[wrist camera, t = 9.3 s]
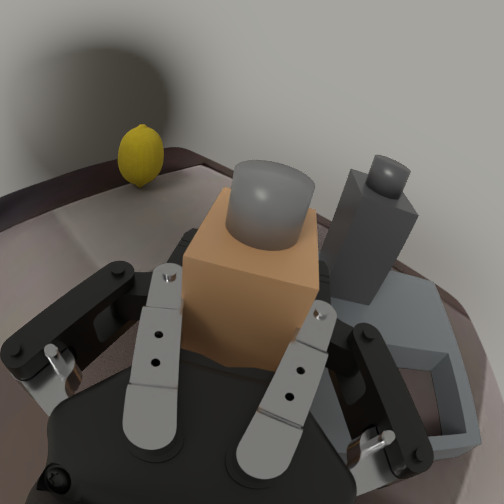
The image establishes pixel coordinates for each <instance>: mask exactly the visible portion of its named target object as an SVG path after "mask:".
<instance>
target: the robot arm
mask: <svg viewBox="0 0 504 504" xmlns="http://www.w3.org/2000/svg"><path fill="white" fill-rule="evenodd" d="M197 231H198V229H194V228H192V229H191V230H189V231H188V232H186V233H185V234H184V236H183V237H182V239H181V241H180V242H179V244H178V246H177V247H176V248H175V250H174V252H173V253H172V255H171V256H170V258H169V260H168V261H167V263H165V264H161V265H159V266H157V267H156V268H155V269H154V271H153V272H134V268H133V266H132V265H131V264H130V263H128V262H125V261H115V262H111V263H109V264H108V265H106V266H105V267H103V268H102V269H100V270H99V271H97V272H96V273H94V274H93V275H92V276H90V277H89V278H87V279H86V280H84V281H83V282H82V283H80V284H79V285H77V286H76V287H75V288H73V289H72V290H70V291H69V292H68V293H66V294H65V295H64V296H62V297H61V298H60V299H58V300H57V301H56V302H54V303H53V304H51V305H50V306H49V307H47V308H46V309H45V310H44V311H42V312H41V313H40V314H38V315H37V316H36V317H34V318H33V319H32V320H31V321H29V322H28V323H27V324H25V325H24V326H23V327H22V328H20V329H19V330H18V331H17V332H15V333H14V334H13V335H12V336H11V337H9V338H8V339H7V340H6V341H5V342H4V343H3V345H2V347H1V351H0V357H1V360H2V362H3V363H4V365H5V366H6V367H7V369H8V370H9V371H10V373H11V375H12V376H13V377H14V379H15V380H16V381H17V382H18V383H19V384H20V386H21V387H22V388H23V389H24V390H25V391H26V392H28V393H29V394H30V396H31V397H32V398H33V399H34V400H36V401H37V403H38V404H39V405H40V406H41V408H42V409H43V410H44V411H45V412H46V413H47V415H48V416H49V420H48V425H47V436H48V457H47V463H46V467H45V469H44V471H43V473H42V474H41V476H40V477H39V479H38V480H37V482H36V483H35V485H34V486H33V487H32V489H31V491H30V493H29V495H28V497H27V500H26V503H25V504H355V501H356V496H358V495H361V494H364V493H366V492H369V491H371V490H374V489H381V488H384V487H387V486H389V485H392V484H395V483H398V482H400V481H403V480H406V479H408V478H411V477H413V476H415V475H418V474H420V473H422V472H425V471H426V470H428V469H429V468H430V467H431V465H432V463H433V460H434V451H433V448H432V445H431V443H430V440H429V438H428V435H427V433H426V431H425V428H424V426H423V423H422V421H421V419H420V416H419V414H418V411H417V409H416V407H415V405H414V402H413V400H412V398H411V396H410V393H409V391H408V389H407V387H406V385H405V382H404V380H403V378H402V376H401V374H400V372H399V370H398V367H397V365H396V363H395V361H394V359H393V357H392V355H391V353H390V351H389V349H388V347H387V345H386V343H385V341H384V339H383V337H382V335H381V333H380V332H379V330H378V329H377V328H376V327H374V326H373V325H371V324H369V323H358V324H357V325H355V327H352V326H350V325H348V324H346V323H344V322H342V321H341V320H339V319H338V318H337V314H336V311H335V309H334V308H333V307H332V306H331V296H330V284H329V283H330V279H329V269H328V267H327V265H326V263H325V262H324V261H321V260H318V263H319V291H318V293H317V296H316V298H315V300H314V302H313V304H312V306H311V308H310V310H309V313H308V315H307V317H306V319H305V321H304V323H303V325H302V327H301V328H298V327H296V329H295V331H294V333H293V335H292V337H291V340H290V342H289V344H288V346H287V348H286V350H285V352H284V354H283V356H282V358H281V360H280V362H279V364H278V366H277V368H276V370H275V372H273V371H268V370H263V369H259V368H249V367H226V366H223V365H221V364H219V363H217V362H215V361H213V360H212V359H210V358H208V357H206V356H204V355H202V354H199V353H196V352H192V351H189V350H186V349H182V347H183V334H182V326H183V311H184V299H183V298H181V290H182V267H183V255H184V253H185V251H186V250H187V248H188V246H189V244H190V243H191V241H192V239H193V238H194V236H195V234H196V233H197ZM138 320H140V322H139V327H138V333H137V338H136V344H135V350H134V356H133V362H132V366H130V367H128V368H126V369H124V370H122V371H120V372H118V373H116V374H114V375H112V376H110V377H109V378H107V379H105V380H103V381H101V382H99V383H97V384H95V385H93V386H91V387H89V388H87V389H85V390H83V391H81V392H79V393H77V394H75V395H74V393H75V391H76V390H77V389H78V387H79V385H80V383H81V381H82V371H83V370H84V369H85V368H86V367H87V366H88V365H89V364H90V363H91V362H93V361H94V360H95V359H96V358H97V357H98V356H99V355H100V354H101V353H102V352H104V351H105V350H106V349H107V348H108V347H109V346H110V345H111V344H112V343H114V342H115V341H116V340H117V339H118V338H119V337H120V336H121V335H123V334H124V333H125V332H126V331H127V330H128V329H129V328H130V327H131V326H133V325H134V324H135V323H136V322H137V321H138ZM324 367H326V368H328V373H329V375H330V378H331V381H332V384H333V387H334V390H335V393H336V395H337V398H338V401H339V404H340V407H341V410H342V413H343V416H344V419H345V422H346V425H347V428H348V431H349V434H350V437H351V440H352V441H351V442H350V443H349V445H348V447H347V465H346V464H345V462H344V461H343V460H342V458H341V457H340V455H339V454H338V452H337V451H336V449H335V448H334V446H333V445H332V443H331V442H330V440H329V439H328V437H327V436H326V434H325V433H324V431H323V430H322V428H321V427H320V425H319V424H318V422H317V421H316V419H315V418H314V416H313V415H312V413H311V412H310V407H311V404H312V401H313V399H314V396H315V393H316V390H317V388H318V385H319V382H320V379H321V376H322V373H323V370H324Z"/></svg>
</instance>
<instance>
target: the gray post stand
mask: <svg viewBox="0 0 504 504" xmlns="http://www.w3.org/2000/svg"><path fill="white" fill-rule="evenodd" d="M409 175H410V170H409V169H408V168H407V167H406V166H404V165H402V164H401V163H399V162H397V161H395V160H392V159H390V158H388V157H385V156H381V155H375V157H374V160H373V163H372V165H371V168H370V171H369V174H366V173H362V172H359V171H356V170H353V169H350V172H349V175H348V178H347V181H346V184H345V187H344V190H343V192H342V195H341V198H340V201H339V203H338V206H337V209H336V212H335V215H334V218H333V220H332V222H331V225H330V228H329V230H328V233H327V236H326V238H325V241H324V243H323V246H322V248H321V251H318V260H321V261H324V262H325V263H326V265H327V267H328V269H329V279H330V283H329V284H330V296H331V306H332V307H333V308H334V309H335V311H336V314H337V318H338V319H339V320H341V321H342V322H344V323H346V324H348V325H350V326H352V327H355V325H357V324H358V323H369V324H371V325H373V326H374V327H376V328H377V329H378V330H379V332H380V333H381V335H382V337H383V339H384V341H385V343H386V345H387V347H388V349H389V351H390V353H391V355H392V357H393V359H394V361H395V363H396V365H397V367H399V368H407V369H416V370H426V371H431V374H432V379H433V384H434V389H435V394H436V399H437V405H438V411H439V417H440V423H441V430H442V436H430V437H428V438H429V440H430V443H431V445H432V448H433V451H434V460H440V459H447V458H453V457H459V456H460V455H462V454H464V453H466V452H468V451H469V450H471V449H473V448H475V447H476V446H478V445H480V444H482V442H481V436H480V430H479V425H478V419H477V415H476V410H475V405H474V401H473V397H472V393H471V389H470V385H469V381H468V377H467V374H466V370H465V367H464V363H463V360H462V357H461V354H460V351H459V347H458V344H457V341H456V338H455V336H454V333H453V330H452V327H451V324H450V322H449V319H448V316H447V314H446V311H445V308H444V306H443V303H442V301H441V298H440V296H439V293H438V291H437V289H436V286H435V284H434V282H432V281H428V280H425V279H421V278H417V277H414V276H410V275H407V274H403V273H399V272H396V271H392V270H391V268H392V266H393V264H394V262H395V261H396V259H397V257H398V255H399V253H400V251H401V250H402V248H403V246H404V244H405V242H406V240H407V238H408V236H409V234H410V232H411V230H412V228H413V226H414V224H415V222H416V220H417V218H418V214H417V213H416V211H415V209H414V208H413V206H412V205H411V203H410V202H409V200H408V199H407V197H406V196H405V195H404V193H403V189H404V187H405V185H406V182H407V180H408V177H409ZM310 412H311V413H312V415H313V416H314V418H315V419H316V421H317V422H318V424H319V425H320V427H321V428H322V430H323V431H324V433H325V434H326V436H327V437H328V439H329V440H330V442H331V443H332V445H333V446H334V448H335V449H336V451H337V452H338V454H339V455H340V457H341V458H342V460H343V461H344V462H345V464H346V465H347V447H348V445H349V443H350V442H351V441H352V440H351V437H350V434H349V431H348V428H347V425H346V422H345V419H344V416H343V413H342V410H341V407H340V404H339V401H338V398H337V395H336V393H335V390H334V387H333V384H332V381H331V378H330V375H329V373H328V368H326V367H324V370H323V373H322V376H321V379H320V382H319V385H318V388H317V390H316V393H315V396H314V399H313V401H312V404H311V407H310Z"/></svg>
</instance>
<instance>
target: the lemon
mask: <svg viewBox="0 0 504 504" xmlns="http://www.w3.org/2000/svg"><path fill="white" fill-rule="evenodd" d="M163 158H164V150H163V144H162V140H161V138H160V136H159V135H158V134H157V132H155V131H154V130H153V129H151V128H148V127H146V125H145V124H140V125H139V126H138V127H136V128H134V129H132V130H130V131H129V132H128V133H127V134H126V135H125V136H124V137H123V139H122V141H121V143H120V147H119V152H118V166H119V170H120V172H121V174H122V176H123V177H124V178H125V179H126V180H127V181H128V182H130V183H132V184H135V185H136V186H137V187H143V186H144V185H145V184H146V183H149V182H151V181H152V180H154V179H155V178H156V177H157V175H158V174H159V172H160V170H161V168H162V165H163Z"/></svg>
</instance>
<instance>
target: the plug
mask: <svg viewBox="0 0 504 504" xmlns="http://www.w3.org/2000/svg"><path fill="white" fill-rule="evenodd" d="M314 189H315V184H314V182H313V181H312V180H311V178H310V177H308V176H307V175H306V174H304V173H302V172H301V171H299V170H297V169H294V168H292V167H290V166H287V165H284V164H280V163H276V162H271V161H263V160H249V161H244V162H241V163H239V164H237V165H236V166H235V169H234V175H233V181H232V186H231V188H226V187H224V188H223V190H222V191H221V193H220V194H219V196H218V198H217V199H216V201H215V203H214V204H213V206H212V207H211V209H210V211H209V212H208V214H207V216H206V217H205V219H204V221H203V222H202V224H201V226H200V227H199V229H198V231H197V233H196V234H195V236H194V238H193V239H192V241H191V243H190V244H189V246H188V248H187V250H186V251H185V253H184V255H183V267H182V290H181V298H183V299H184V311H183V326H182V334H183V347H182V349H186V350H189V351H192V352H196V353H199V354H202V355H204V356H206V357H208V358H210V359H212V360H213V361H215V362H217V363H219V364H221V365H223V366H226V367H249V368H259V369H263V370H268V371H273V372H275V370H276V368H277V366H278V364H279V362H280V360H281V358H282V356H283V354H284V352H285V350H286V348H287V346H288V344H289V342H290V340H291V337H292V335H293V333H294V331H295V329H296V327H298V328H301V327H302V325H303V323H304V321H305V319H306V317H307V315H308V313H309V310H310V308H311V306H312V304H313V302H314V300H315V298H316V296H317V293H318V291H319V263H318V238H317V220H316V210H315V209H311V208H309V205H310V202H311V199H312V196H313V192H314Z"/></svg>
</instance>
